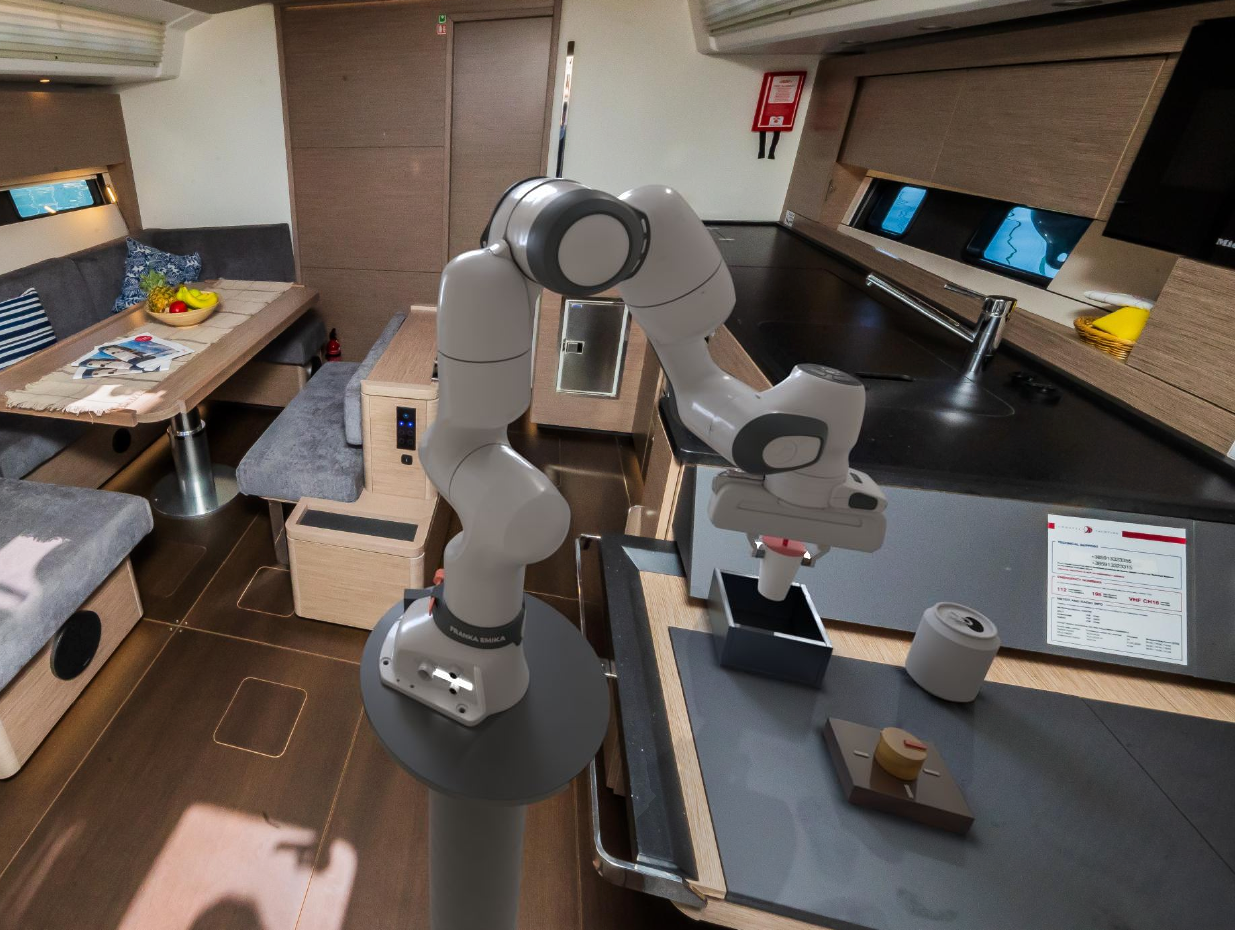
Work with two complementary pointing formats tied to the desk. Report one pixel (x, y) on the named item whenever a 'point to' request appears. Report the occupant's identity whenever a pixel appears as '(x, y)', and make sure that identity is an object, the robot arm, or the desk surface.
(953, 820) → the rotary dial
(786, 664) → the dark open box
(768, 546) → the cup
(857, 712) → the desk surface
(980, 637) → the can
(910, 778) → the tap knob
